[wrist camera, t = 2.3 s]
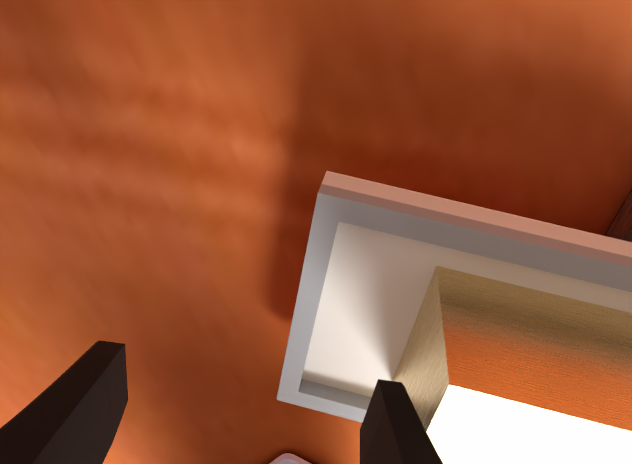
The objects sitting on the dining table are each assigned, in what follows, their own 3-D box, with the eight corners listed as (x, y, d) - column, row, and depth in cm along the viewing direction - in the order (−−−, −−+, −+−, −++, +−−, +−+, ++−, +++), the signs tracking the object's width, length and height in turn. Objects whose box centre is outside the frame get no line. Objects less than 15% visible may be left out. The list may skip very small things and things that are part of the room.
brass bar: (392, 381, 16) (387, 513, 12) (436, 265, 13) (449, 384, 9) (612, 439, 15) (682, 594, 11) (702, 330, 13) (831, 483, 9)
